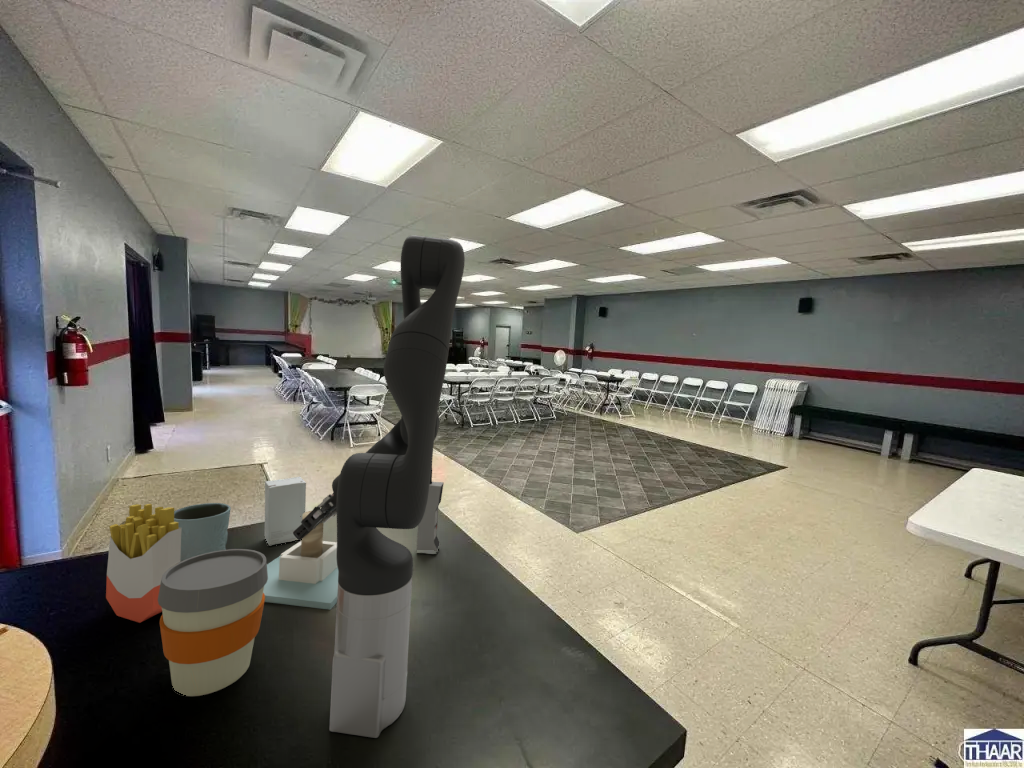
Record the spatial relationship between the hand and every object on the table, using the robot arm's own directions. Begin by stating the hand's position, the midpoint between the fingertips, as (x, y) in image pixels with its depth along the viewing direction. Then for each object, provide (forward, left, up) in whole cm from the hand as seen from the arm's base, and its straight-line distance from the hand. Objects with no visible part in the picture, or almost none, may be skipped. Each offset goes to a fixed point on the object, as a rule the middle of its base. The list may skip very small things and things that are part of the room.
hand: (303, 531), depth 86 cm
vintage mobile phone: (+17, -22, -9) cm, 29 cm away
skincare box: (+15, +14, -9) cm, 23 cm away
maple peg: (0, -2, -6) cm, 6 cm away
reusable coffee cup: (-27, -4, -9) cm, 29 cm away
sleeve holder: (0, -2, -9) cm, 9 cm away
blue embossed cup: (-1, +22, -9) cm, 24 cm away
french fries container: (-17, +18, -9) cm, 27 cm away
